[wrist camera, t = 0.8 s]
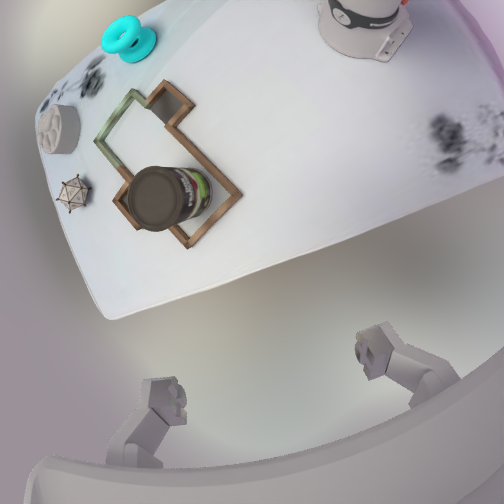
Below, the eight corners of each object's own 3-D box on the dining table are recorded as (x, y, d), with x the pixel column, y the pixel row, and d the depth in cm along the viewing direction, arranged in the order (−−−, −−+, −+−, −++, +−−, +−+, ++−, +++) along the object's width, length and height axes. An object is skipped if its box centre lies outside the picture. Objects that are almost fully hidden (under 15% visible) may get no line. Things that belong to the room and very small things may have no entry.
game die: (92, 183, 60) (74, 161, 51) (101, 204, 58) (82, 182, 48) (66, 203, 58) (47, 183, 49) (74, 225, 56) (52, 206, 47)
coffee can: (200, 158, 50) (167, 154, 37) (220, 206, 52) (192, 217, 39) (158, 180, 53) (118, 184, 40) (176, 225, 55) (140, 241, 42)
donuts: (101, 59, 38) (96, 32, 36) (127, 71, 47) (120, 45, 45) (140, 32, 35) (131, 6, 33) (162, 48, 45) (153, 23, 43)
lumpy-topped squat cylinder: (75, 102, 51) (53, 98, 43) (84, 141, 54) (60, 140, 45) (53, 124, 54) (31, 122, 46) (62, 161, 56) (38, 163, 48)
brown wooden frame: (154, 70, 46) (149, 67, 44) (265, 172, 49) (264, 172, 47) (86, 161, 55) (81, 161, 53) (174, 265, 58) (170, 268, 56)
